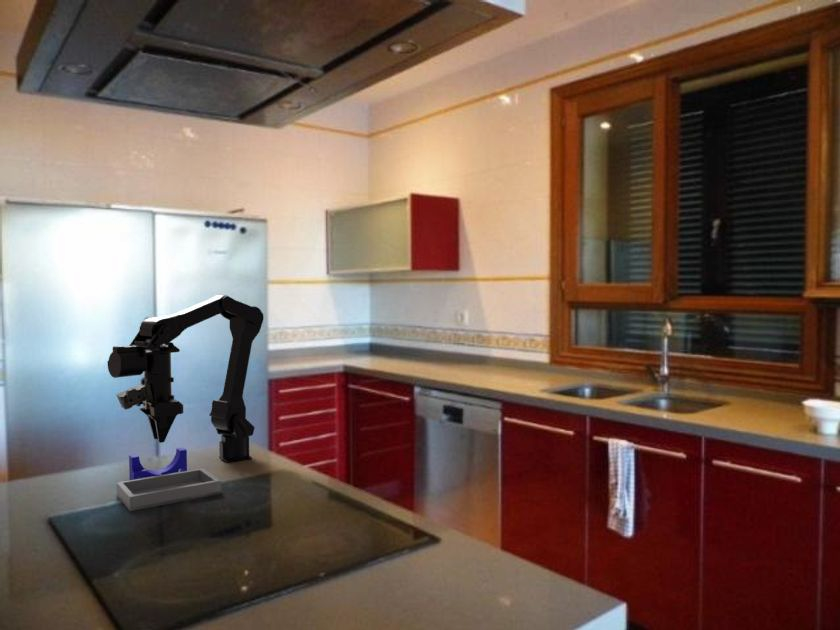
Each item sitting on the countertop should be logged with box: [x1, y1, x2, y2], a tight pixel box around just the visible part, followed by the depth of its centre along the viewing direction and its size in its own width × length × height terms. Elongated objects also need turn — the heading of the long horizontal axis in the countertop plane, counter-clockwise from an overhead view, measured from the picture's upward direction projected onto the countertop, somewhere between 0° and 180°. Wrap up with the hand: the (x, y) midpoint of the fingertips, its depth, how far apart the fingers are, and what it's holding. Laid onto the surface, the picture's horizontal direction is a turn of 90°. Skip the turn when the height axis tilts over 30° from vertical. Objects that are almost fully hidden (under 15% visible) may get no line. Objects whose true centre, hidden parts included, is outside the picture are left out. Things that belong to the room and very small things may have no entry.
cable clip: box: [128, 447, 188, 480], centre depth 149 cm, size 12×4×6 cm, turn 126°
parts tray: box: [116, 467, 222, 512], centre depth 136 cm, size 18×12×3 cm, turn 126°
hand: (159, 440), depth 149 cm, fingers open, 4 cm apart
